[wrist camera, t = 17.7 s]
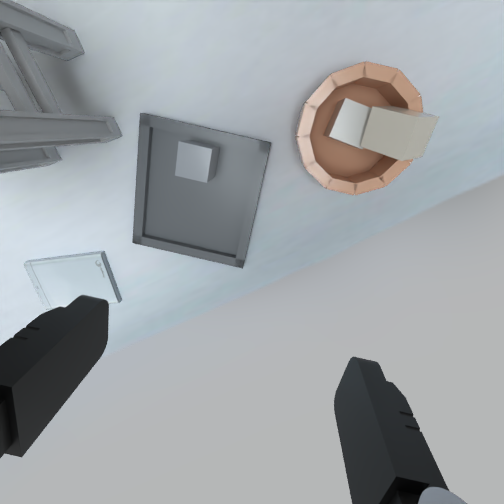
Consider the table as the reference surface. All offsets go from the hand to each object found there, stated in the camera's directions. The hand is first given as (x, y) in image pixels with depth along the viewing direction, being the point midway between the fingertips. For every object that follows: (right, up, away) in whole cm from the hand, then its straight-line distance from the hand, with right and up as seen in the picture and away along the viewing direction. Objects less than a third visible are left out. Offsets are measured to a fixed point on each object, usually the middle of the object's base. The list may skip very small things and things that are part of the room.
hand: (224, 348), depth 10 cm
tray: (-6, +10, +29) cm, 31 cm away
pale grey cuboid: (+11, +17, +24) cm, 31 cm away
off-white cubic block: (+13, +15, +20) cm, 28 cm away
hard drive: (-26, -1, +36) cm, 44 cm away
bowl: (+12, +17, +25) cm, 32 cm away
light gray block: (-5, +14, +27) cm, 31 cm away
